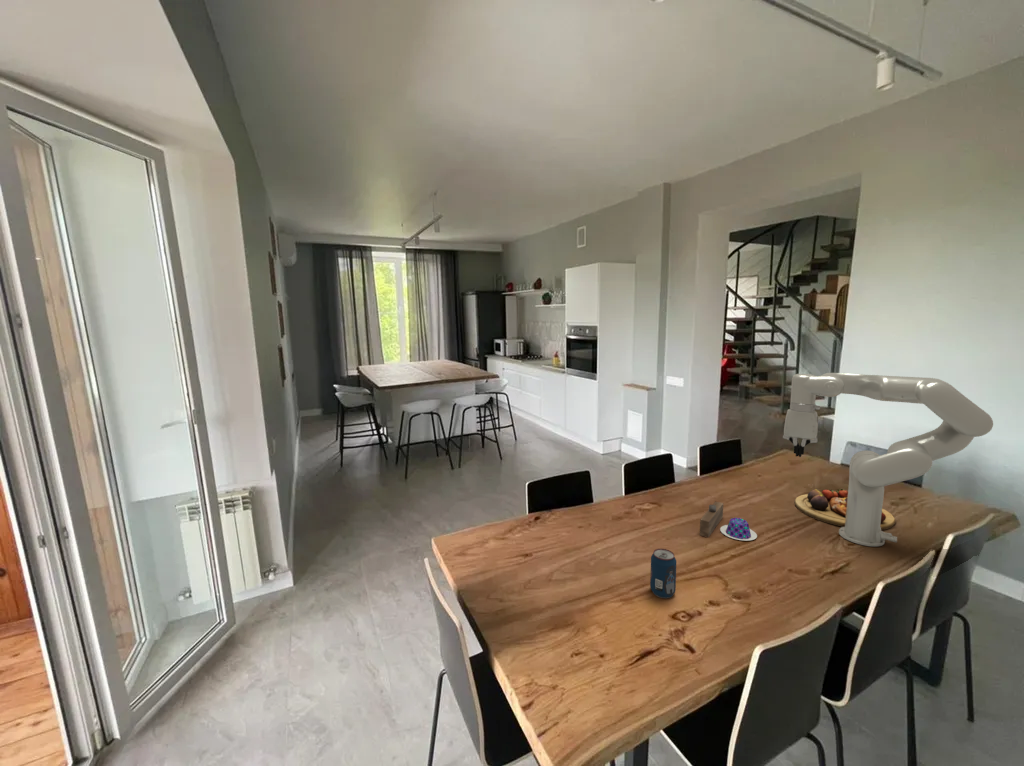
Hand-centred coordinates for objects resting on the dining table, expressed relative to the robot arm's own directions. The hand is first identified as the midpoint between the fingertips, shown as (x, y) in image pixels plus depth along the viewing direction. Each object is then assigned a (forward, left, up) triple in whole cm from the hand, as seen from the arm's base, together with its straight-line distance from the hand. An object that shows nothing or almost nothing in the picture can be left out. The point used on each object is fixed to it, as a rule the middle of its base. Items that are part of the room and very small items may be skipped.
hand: (798, 455), depth 159 cm
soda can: (+24, +71, -27) cm, 80 cm away
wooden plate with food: (-14, -23, -28) cm, 39 cm away
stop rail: (+24, +20, -27) cm, 41 cm away
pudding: (+15, +20, -28) cm, 37 cm away
